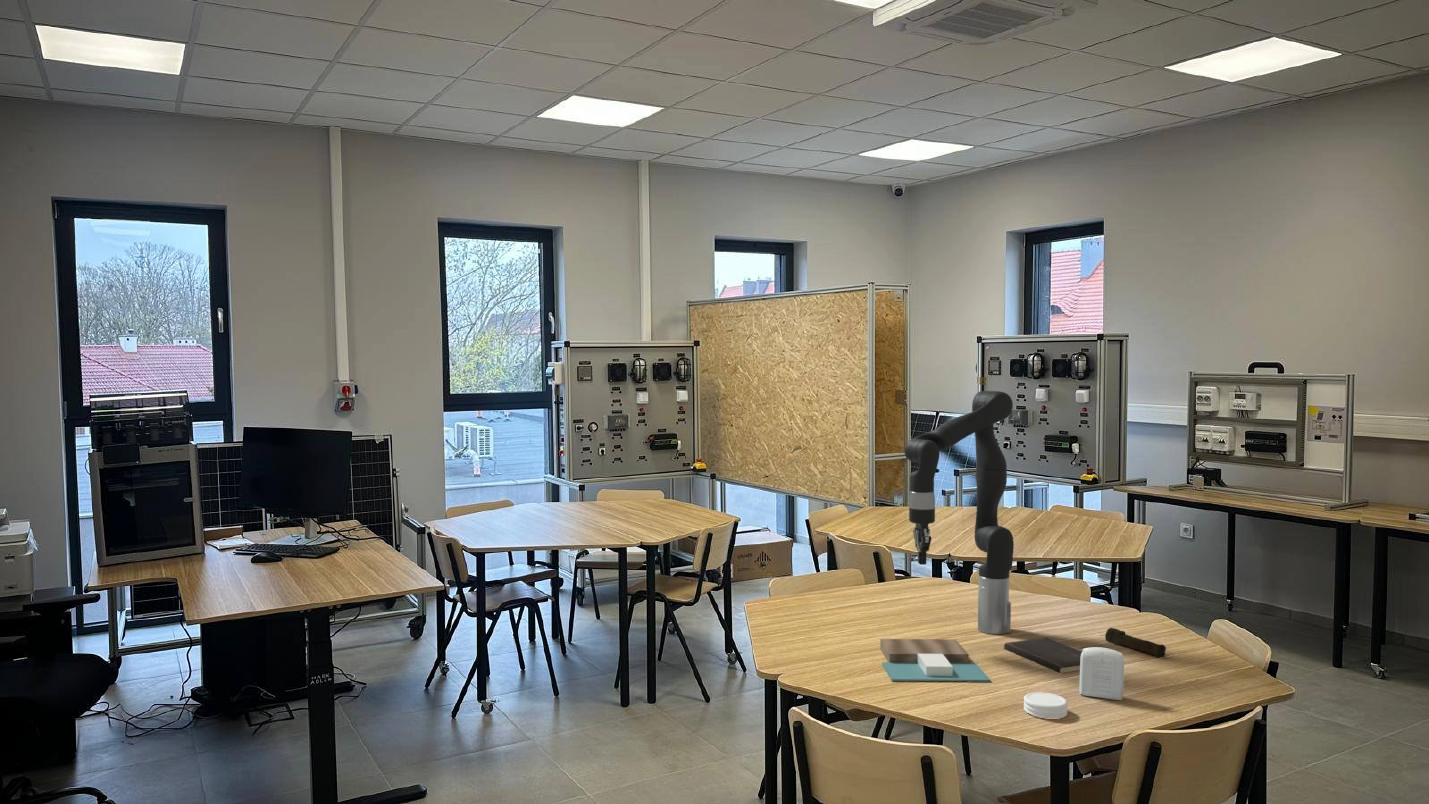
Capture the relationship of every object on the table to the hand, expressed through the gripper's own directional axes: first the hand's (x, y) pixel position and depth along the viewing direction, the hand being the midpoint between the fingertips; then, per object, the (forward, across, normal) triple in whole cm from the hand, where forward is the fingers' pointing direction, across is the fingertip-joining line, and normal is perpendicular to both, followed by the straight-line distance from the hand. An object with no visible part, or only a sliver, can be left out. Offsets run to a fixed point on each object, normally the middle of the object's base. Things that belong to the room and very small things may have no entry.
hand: (922, 563), depth 279 cm
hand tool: (+26, -6, -61) cm, 66 cm away
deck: (+24, -13, +3) cm, 27 cm away
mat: (+24, -27, +3) cm, 36 cm away
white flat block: (+23, -26, +3) cm, 35 cm away
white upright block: (+25, -45, -34) cm, 62 cm away
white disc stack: (+24, -56, -16) cm, 63 cm away
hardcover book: (+25, -14, -34) cm, 45 cm away
